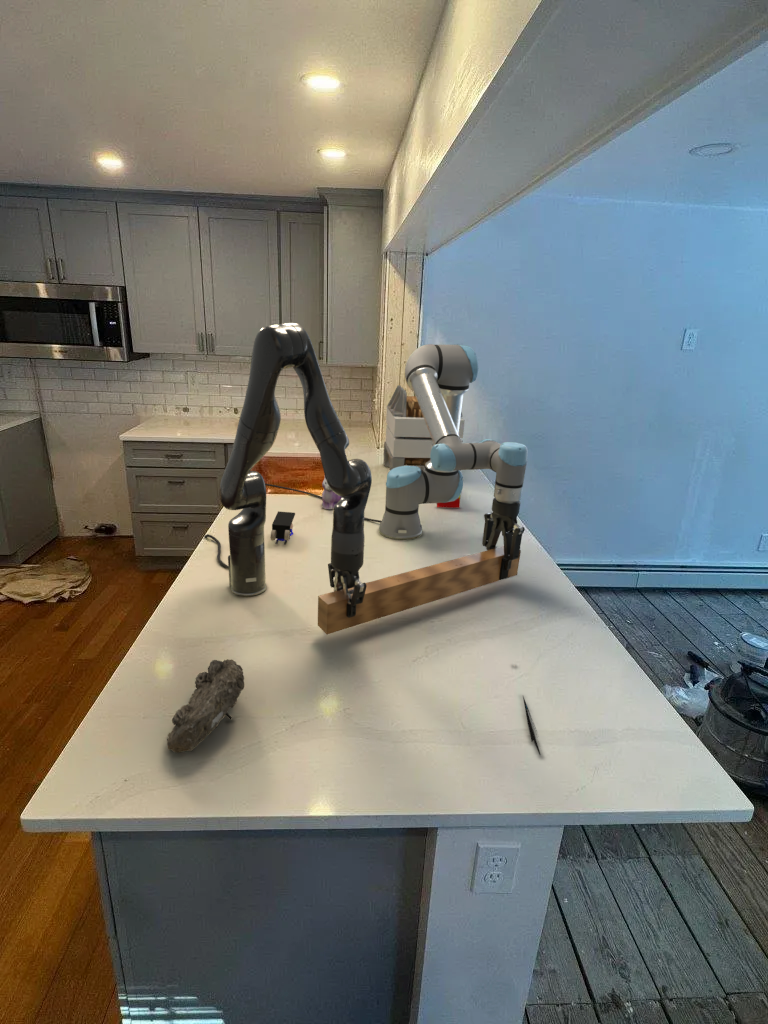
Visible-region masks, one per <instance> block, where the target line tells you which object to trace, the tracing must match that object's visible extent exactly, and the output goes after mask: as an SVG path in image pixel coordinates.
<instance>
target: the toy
mask: <svg viewBox="0 0 768 1024" xmlns="http://www.w3.org/2000/svg"><path fill="white" fill-rule="evenodd" d="M461 494H462V493H461ZM461 494H460V496H459V497H458V499H456V500H455V501H452V502H446V503H436V508H447V509H448V508H449V509H450V508H452V509H460V507H461V505H460V504H461Z"/></svg>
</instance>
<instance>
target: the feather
mask: <svg viewBox="0 0 768 1024" xmlns="http://www.w3.org/2000/svg"><path fill="white" fill-rule="evenodd" d="M513 666H514V667H515V666H516V665H515V664H514V665H513ZM522 699H523V706H524V711H525V717H526V722H527V726H528V732H529V737H530V739H531V741H530V742H531V743H533V742H534V746H535V747H536V750H537V752H538V754H539V755H541V752H540V749H539V745H538V742H537V741H538V740H537V739H536V738H537V737H536V736H538V731H537V728H536V725H535V722H534V720H533V717H532V716H531V713H530V709H529V707H528V704H527V702H526V698H525V697H524V696H522ZM534 731H535V732H534Z"/></svg>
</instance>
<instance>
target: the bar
mask: <svg viewBox="0 0 768 1024" xmlns="http://www.w3.org/2000/svg"><path fill="white" fill-rule="evenodd" d="M521 554H522V550H521V549H520V552H519V558H518V559H515V560H512V563H511V568H510V569H509V572H508V578H507V579H509V578H513V577H515V576H518V572H519V566H520V560H521V559H520V558H521ZM502 558H504V545H502V546H499V547H498V546H497V548H496V547H495V549H491V550H487V549H486V550H483V551H479V552H476V553H472V554H469V555H465V556H461V557H458V558H454V559H451V560H446V561H442V562H439V563H435V564H431V565H428V566H423V567H421V568H417V569H413V570H409V571H405V572H401V573H399V574H395V575H391V576H387V577H383V578H380V579H375V580H372V581H369V582H365V583H366V586H367V587H366V591H365V595H364V599H363V603H361V604H356V615H355V616H353V617H350V618H348V617H347V616H346V610H347V598H346V595H345V594H344V590H343V589H342V590H338V591H334V590H333V591H331V592H328V593H324V594H320V595H318V596H317V627H319V629H321V631H323V633H325V634H326V635H331V634H334V633H337V632H341V631H343V630H346V629H350V628H353V627H357V626H360V625H363V624H366V623H368V622H373V621H375V620H378V619H382V618H385V617H388V616H391V615H394V614H397V613H401V612H404V611H407V610H410V609H414V608H417V607H420V606H424V605H426V604H430V603H433V602H436V601H439V600H442V599H445V598H448V597H452V596H455V595H458V594H461V593H464V592H468V591H471V590H473V589H477V588H480V587H483V586H486V585H491V584H493V583H497V582H499V581H501V580H500V579H499V576H500V569H501V561H502ZM352 589H353V588H350V589H348V590H352ZM352 595H353V594H351V595H350V596H351V598H352Z"/></svg>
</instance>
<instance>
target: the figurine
mask: <svg viewBox="0 0 768 1024" xmlns="http://www.w3.org/2000/svg"><path fill="white" fill-rule="evenodd" d="M323 474H324V473H323ZM323 476H325V474H324V475H323ZM321 484H322V485H321V486H322V488H323V491H322V493H321V497H322V503H321V507H322V509H325V510H334V507H335V505H336V504H337V502H338V501H339V500H340V499H341V496H339V495H337V494H335V493H334V492H333V491H332V490H331V488H330V487H329V485H328V483H327V481H326V478H325V477H324V479H323V481H322V483H321Z"/></svg>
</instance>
